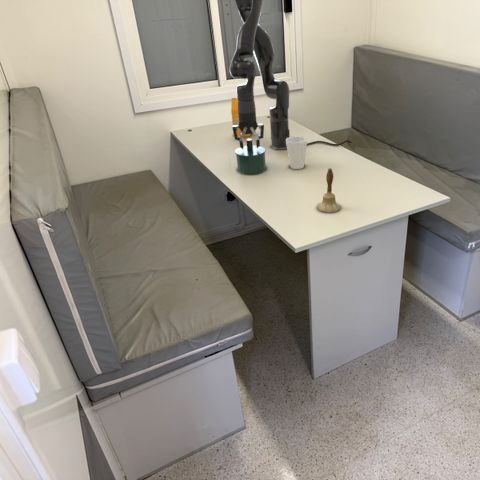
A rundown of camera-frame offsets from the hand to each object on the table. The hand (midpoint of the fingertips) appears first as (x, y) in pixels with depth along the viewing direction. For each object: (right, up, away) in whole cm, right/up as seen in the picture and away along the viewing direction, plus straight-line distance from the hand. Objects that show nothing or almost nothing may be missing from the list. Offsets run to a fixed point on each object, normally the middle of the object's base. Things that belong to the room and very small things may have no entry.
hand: (250, 147), depth 193 cm
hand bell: (+35, -29, -27) cm, 53 cm away
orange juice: (-12, +18, +49) cm, 54 cm away
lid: (0, -1, +1) cm, 2 cm away
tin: (0, -9, +5) cm, 10 cm away
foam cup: (+21, -7, +8) cm, 23 cm away
